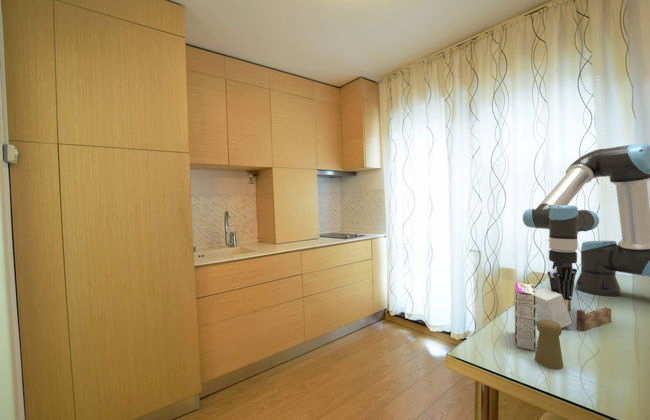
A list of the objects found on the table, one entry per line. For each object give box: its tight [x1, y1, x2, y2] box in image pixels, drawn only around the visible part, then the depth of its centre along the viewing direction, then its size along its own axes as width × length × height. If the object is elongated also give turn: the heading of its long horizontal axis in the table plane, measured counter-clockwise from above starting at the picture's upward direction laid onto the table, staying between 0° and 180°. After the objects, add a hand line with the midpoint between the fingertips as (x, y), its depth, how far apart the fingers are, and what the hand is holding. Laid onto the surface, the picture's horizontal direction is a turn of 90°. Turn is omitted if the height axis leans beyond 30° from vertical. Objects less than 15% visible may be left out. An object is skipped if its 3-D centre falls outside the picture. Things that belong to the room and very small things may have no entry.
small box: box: [534, 287, 573, 329], centre depth 100 cm, size 8×6×10 cm
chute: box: [536, 300, 612, 332], centre depth 104 cm, size 18×14×6 cm
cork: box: [534, 319, 564, 370], centre depth 77 cm, size 6×6×11 cm
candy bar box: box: [514, 282, 537, 352], centre depth 88 cm, size 11×5×16 cm, turn 148°
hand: (561, 317), depth 101 cm, fingers closed
